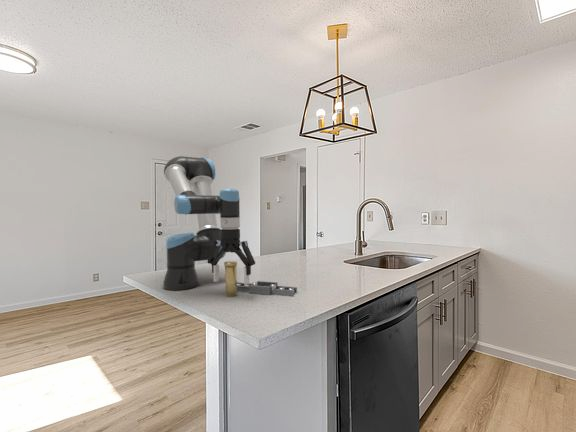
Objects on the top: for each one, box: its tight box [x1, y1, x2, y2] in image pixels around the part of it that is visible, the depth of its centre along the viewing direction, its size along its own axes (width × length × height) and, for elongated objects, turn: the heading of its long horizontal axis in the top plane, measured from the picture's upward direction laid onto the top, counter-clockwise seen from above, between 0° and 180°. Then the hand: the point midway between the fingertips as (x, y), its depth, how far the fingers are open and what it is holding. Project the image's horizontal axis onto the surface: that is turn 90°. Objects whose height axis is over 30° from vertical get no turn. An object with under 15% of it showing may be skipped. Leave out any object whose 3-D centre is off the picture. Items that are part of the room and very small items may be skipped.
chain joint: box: [237, 280, 298, 297], centre depth 126 cm, size 29×8×3 cm, turn 70°
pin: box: [224, 260, 238, 298], centre depth 121 cm, size 5×5×13 cm
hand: (231, 282), depth 121 cm, fingers open, 13 cm apart
